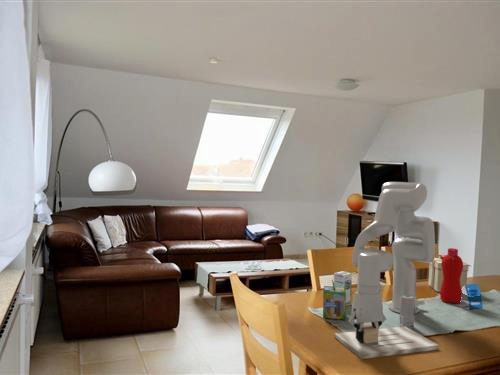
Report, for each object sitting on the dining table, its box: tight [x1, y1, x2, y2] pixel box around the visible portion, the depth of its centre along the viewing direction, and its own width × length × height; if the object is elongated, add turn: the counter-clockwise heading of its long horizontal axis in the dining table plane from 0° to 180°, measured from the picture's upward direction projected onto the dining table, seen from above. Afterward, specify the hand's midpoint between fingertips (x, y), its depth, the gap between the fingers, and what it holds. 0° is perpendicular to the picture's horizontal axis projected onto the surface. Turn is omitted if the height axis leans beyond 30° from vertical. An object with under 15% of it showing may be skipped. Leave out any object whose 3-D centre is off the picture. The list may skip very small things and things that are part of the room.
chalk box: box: [322, 279, 347, 321], centre depth 178 cm, size 9×9×15 cm
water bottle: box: [439, 247, 463, 304], centre depth 201 cm, size 9×11×25 cm
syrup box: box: [333, 270, 353, 307], centre depth 194 cm, size 6×6×14 cm
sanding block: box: [355, 323, 379, 346], centre depth 149 cm, size 7×4×5 cm, turn 17°
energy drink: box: [398, 295, 415, 330], centre depth 167 cm, size 5×5×12 cm
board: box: [334, 326, 440, 360], centre depth 151 cm, size 30×18×2 cm, turn 107°
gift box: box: [427, 254, 471, 293], centre depth 223 cm, size 17×18×17 cm
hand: (366, 340), depth 149 cm, fingers closed on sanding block, 4 cm apart
